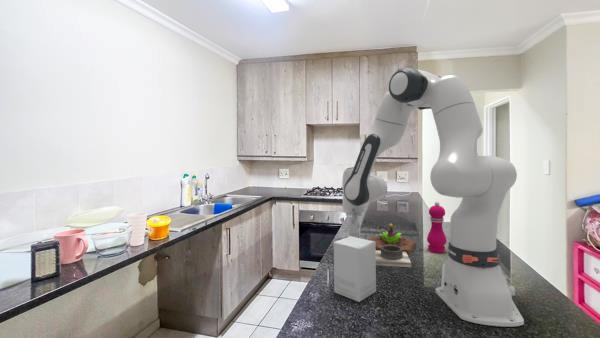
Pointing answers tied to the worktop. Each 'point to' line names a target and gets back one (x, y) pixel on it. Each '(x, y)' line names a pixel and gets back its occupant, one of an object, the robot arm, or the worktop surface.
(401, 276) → the worktop surface
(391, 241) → the plant
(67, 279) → the worktop surface
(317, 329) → the worktop surface
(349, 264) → the supplement box
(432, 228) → the pepper mill
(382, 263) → the duct board
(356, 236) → the frosted cylinder in socket
